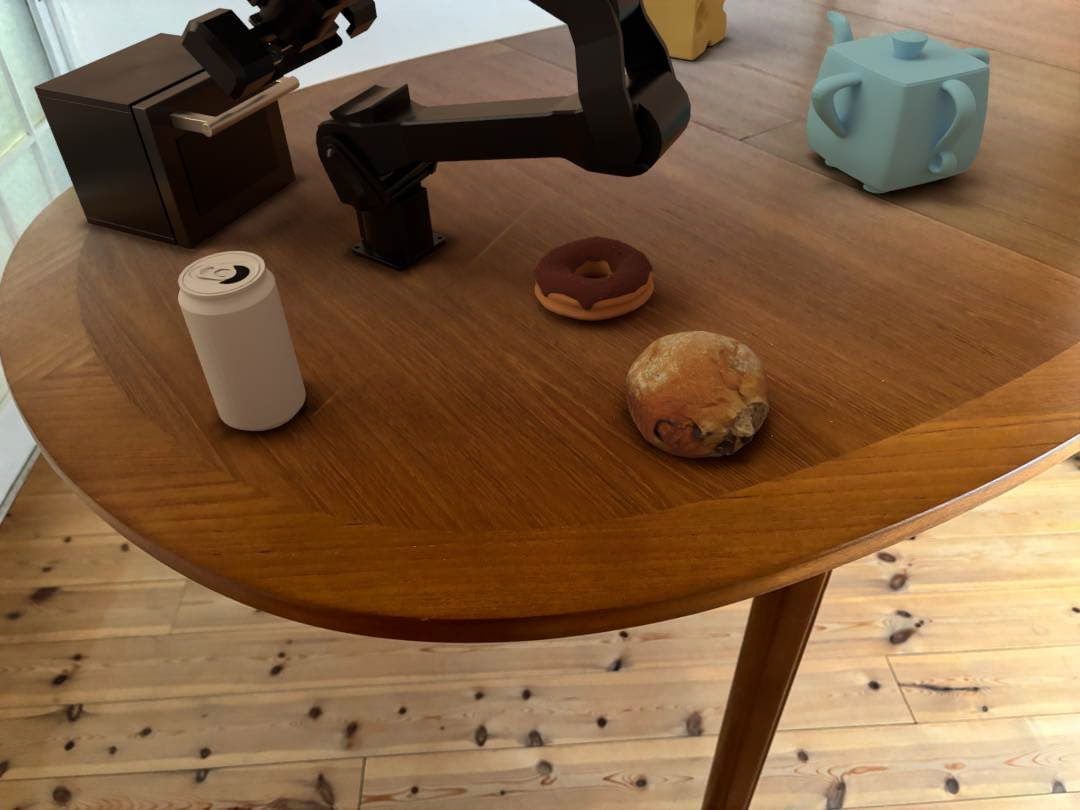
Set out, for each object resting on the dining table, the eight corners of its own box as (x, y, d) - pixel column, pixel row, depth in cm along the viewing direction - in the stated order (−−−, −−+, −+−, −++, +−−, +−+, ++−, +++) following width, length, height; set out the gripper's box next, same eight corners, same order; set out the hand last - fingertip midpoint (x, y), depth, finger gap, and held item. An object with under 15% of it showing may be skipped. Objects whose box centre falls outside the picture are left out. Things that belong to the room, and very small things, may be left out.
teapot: (983, 151, 96) (1020, 18, 88) (953, 219, 85) (992, 75, 77) (811, 123, 104) (830, -2, 95) (764, 183, 93) (780, 48, 84)
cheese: (725, 38, 127) (732, -40, 120) (692, 63, 120) (697, -18, 113) (657, 29, 131) (660, -47, 125) (622, 52, 124) (623, -27, 118)
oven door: (334, 187, 96) (308, 55, 88) (231, 259, 85) (189, 117, 77) (284, 176, 99) (253, 47, 90) (178, 245, 88) (131, 106, 79)
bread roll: (751, 421, 70) (751, 317, 68) (788, 462, 60) (789, 342, 58) (622, 428, 70) (619, 324, 68) (637, 470, 60) (634, 350, 58)
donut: (630, 258, 83) (631, 219, 80) (670, 316, 75) (673, 275, 73) (522, 278, 81) (519, 238, 78) (552, 339, 74) (550, 297, 71)
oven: (282, 177, 99) (250, 45, 90) (176, 246, 88) (128, 104, 79) (199, 159, 103) (160, 32, 94) (88, 223, 93) (33, 86, 84)
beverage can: (287, 442, 65) (244, 300, 58) (205, 433, 66) (153, 293, 59) (321, 387, 70) (286, 249, 62) (243, 379, 71) (200, 243, 64)
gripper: (324, -145, 76) (253, -15, 87) (160, -96, 63) (102, 48, 75) (416, -35, 78) (335, 77, 89) (275, 32, 66) (202, 154, 77)
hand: (249, 86), depth 82 cm, fingers open, 4 cm apart
